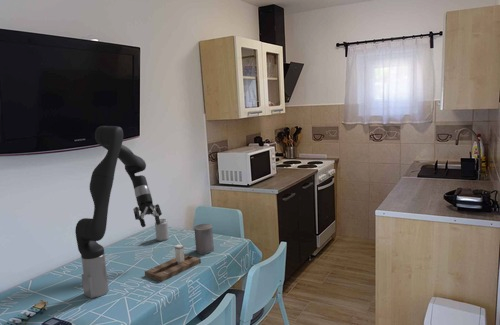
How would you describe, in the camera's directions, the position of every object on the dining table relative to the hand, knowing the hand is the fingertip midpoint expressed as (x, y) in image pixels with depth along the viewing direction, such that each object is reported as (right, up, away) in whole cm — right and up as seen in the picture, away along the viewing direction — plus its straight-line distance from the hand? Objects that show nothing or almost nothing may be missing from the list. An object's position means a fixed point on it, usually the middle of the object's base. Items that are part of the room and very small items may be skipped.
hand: (151, 225), depth 195 cm
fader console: (+12, -20, -6) cm, 25 cm away
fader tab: (+15, -18, -3) cm, 24 cm away
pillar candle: (+25, -16, +16) cm, 34 cm away
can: (-3, -15, +39) cm, 41 cm away
